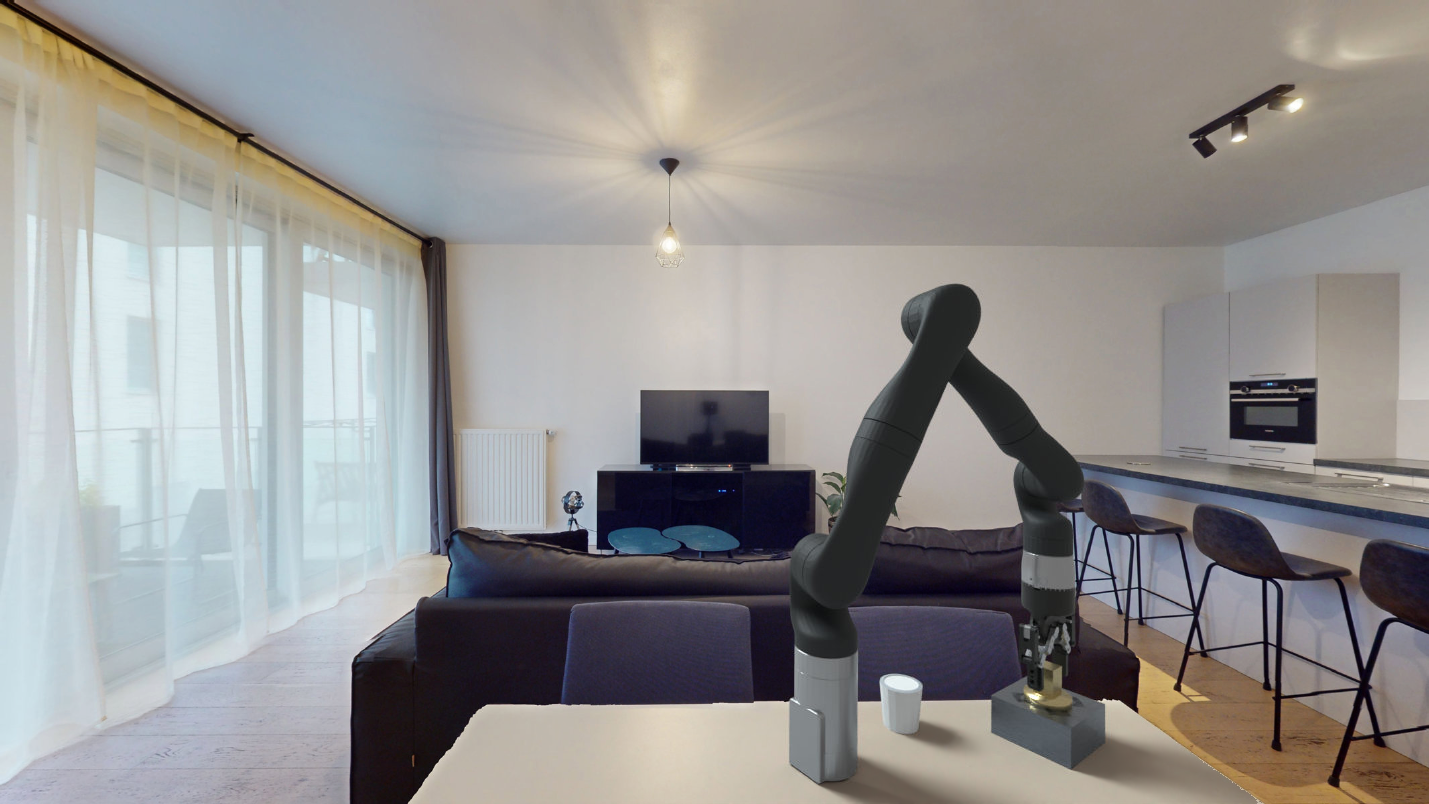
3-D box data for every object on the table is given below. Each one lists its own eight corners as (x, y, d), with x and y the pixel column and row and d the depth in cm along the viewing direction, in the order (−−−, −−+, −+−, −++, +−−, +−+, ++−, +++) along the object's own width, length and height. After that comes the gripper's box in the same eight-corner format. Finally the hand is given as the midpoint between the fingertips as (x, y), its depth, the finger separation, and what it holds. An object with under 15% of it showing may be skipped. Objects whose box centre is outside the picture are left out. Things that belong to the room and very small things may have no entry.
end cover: (1060, 740, 89) (1060, 678, 89) (1015, 720, 95) (1015, 662, 95) (1079, 726, 93) (1080, 667, 93) (1035, 708, 99) (1036, 652, 99)
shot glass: (927, 721, 99) (927, 679, 99) (916, 740, 93) (917, 696, 93) (886, 709, 102) (886, 669, 102) (873, 727, 97) (874, 685, 97)
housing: (1071, 769, 86) (1071, 728, 86) (991, 732, 95) (991, 695, 95) (1105, 742, 93) (1105, 704, 93) (1027, 710, 102) (1027, 675, 103)
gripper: (1044, 567, 102) (1044, 662, 101) (1001, 582, 93) (1001, 685, 93) (1092, 578, 95) (1092, 678, 95) (1051, 594, 87) (1051, 704, 87)
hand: (1047, 681), depth 94 cm, fingers open, 8 cm apart
